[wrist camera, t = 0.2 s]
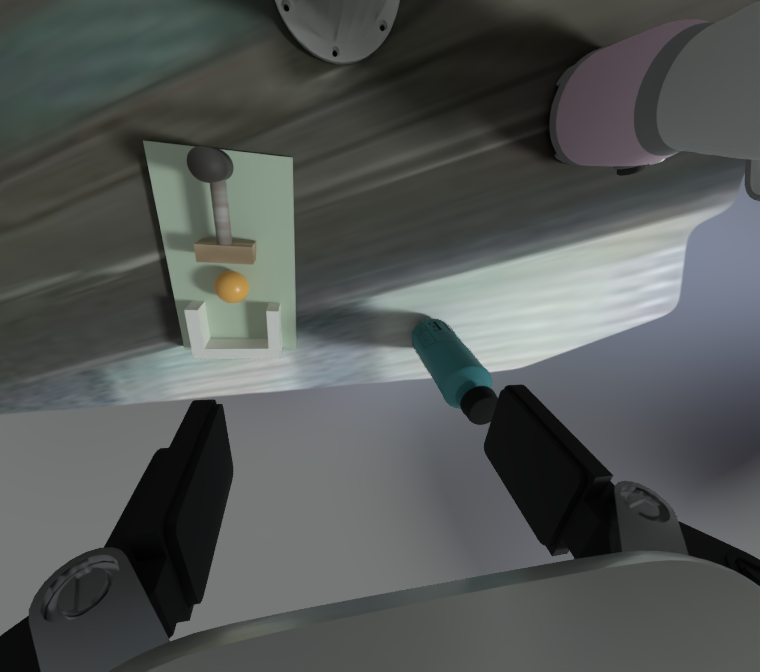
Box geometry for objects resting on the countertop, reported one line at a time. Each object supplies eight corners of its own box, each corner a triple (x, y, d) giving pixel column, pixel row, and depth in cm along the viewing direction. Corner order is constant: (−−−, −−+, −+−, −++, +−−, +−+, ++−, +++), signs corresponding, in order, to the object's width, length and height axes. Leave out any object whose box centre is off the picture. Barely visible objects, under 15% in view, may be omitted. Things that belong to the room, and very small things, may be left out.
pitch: (147, 141, 34) (142, 140, 33) (292, 157, 38) (292, 157, 37) (187, 346, 46) (184, 349, 45) (296, 345, 49) (296, 348, 48)
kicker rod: (189, 145, 34) (165, 141, 28) (249, 152, 35) (238, 150, 30) (205, 254, 39) (187, 269, 34) (257, 257, 41) (248, 272, 35)
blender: (539, 71, 38) (1144, -177, 11) (633, 32, 38) (1489, -320, 11) (548, 204, 46) (909, 264, 18) (627, 172, 46) (1107, 182, 18)
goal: (191, 300, 42) (184, 309, 39) (280, 302, 44) (278, 311, 42) (200, 347, 45) (193, 359, 42) (282, 347, 47) (280, 357, 45)
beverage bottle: (409, 352, 53) (458, 443, 36) (405, 317, 50) (456, 397, 33) (447, 343, 54) (512, 428, 37) (445, 308, 51) (515, 382, 33)
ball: (216, 266, 40) (207, 275, 37) (250, 267, 41) (244, 276, 38) (220, 296, 42) (212, 307, 39) (252, 297, 43) (247, 308, 40)
